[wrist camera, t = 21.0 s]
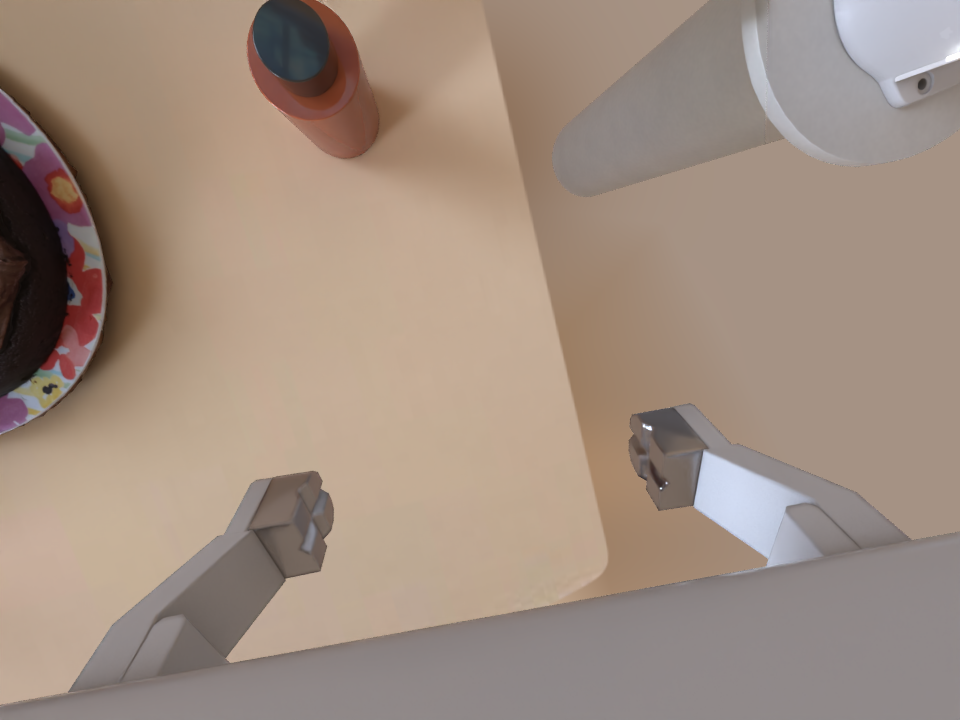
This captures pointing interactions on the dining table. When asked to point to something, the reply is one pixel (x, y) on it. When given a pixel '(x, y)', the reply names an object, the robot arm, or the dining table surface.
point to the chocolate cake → (44, 272)
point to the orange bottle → (313, 75)
